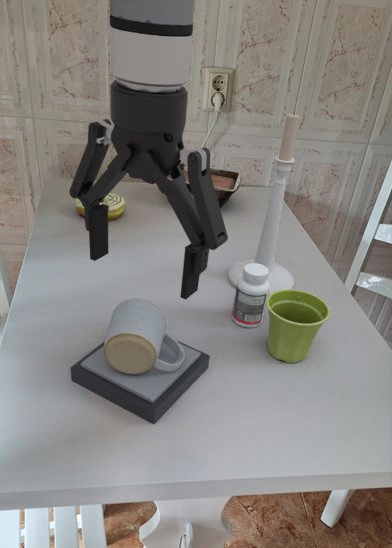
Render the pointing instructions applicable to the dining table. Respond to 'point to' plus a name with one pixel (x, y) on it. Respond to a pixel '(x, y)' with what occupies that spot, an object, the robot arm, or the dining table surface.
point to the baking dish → (219, 182)
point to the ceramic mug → (139, 338)
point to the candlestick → (273, 218)
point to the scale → (141, 381)
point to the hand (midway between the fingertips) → (142, 274)
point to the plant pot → (294, 323)
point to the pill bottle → (251, 296)
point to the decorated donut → (114, 205)
